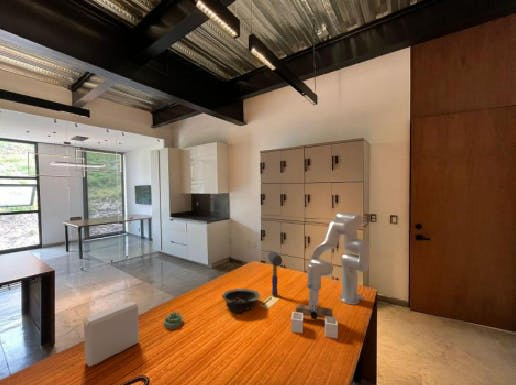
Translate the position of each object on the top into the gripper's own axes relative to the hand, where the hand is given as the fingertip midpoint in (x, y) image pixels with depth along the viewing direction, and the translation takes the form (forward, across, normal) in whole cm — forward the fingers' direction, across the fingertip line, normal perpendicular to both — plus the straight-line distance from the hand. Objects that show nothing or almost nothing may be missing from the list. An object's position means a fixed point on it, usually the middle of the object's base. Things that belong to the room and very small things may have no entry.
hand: (313, 316), depth 134 cm
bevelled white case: (+2, +47, -92) cm, 103 cm away
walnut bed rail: (+2, 0, 0) cm, 2 cm away
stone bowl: (+3, -6, -46) cm, 46 cm away
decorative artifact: (+3, +21, -77) cm, 80 cm away
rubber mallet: (+3, -24, -27) cm, 36 cm away
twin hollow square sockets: (+2, +10, 0) cm, 10 cm away
